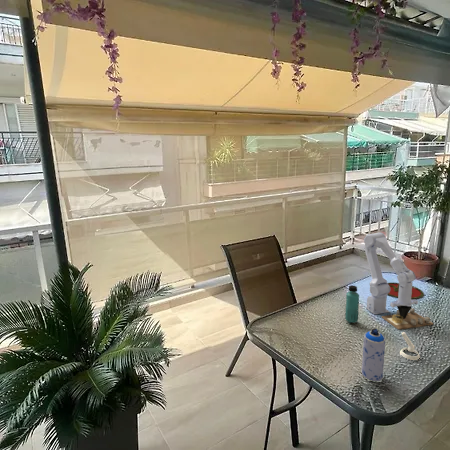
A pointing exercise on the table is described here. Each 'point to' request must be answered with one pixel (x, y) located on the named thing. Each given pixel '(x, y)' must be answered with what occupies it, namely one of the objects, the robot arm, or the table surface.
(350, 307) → the beverage bottle
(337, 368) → the table surface
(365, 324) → the table surface
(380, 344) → the aerosol can
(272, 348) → the table surface
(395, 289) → the decorative plate
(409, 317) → the board
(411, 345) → the hook
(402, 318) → the brass nut
